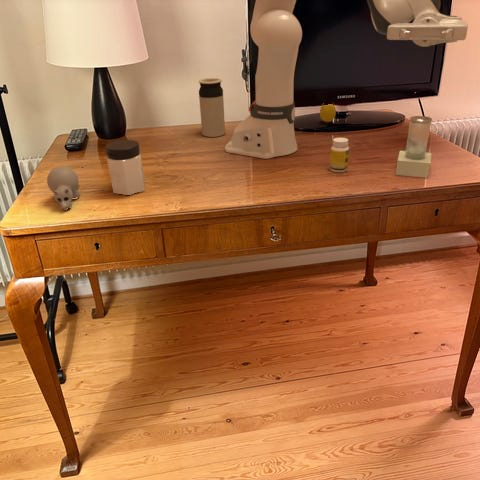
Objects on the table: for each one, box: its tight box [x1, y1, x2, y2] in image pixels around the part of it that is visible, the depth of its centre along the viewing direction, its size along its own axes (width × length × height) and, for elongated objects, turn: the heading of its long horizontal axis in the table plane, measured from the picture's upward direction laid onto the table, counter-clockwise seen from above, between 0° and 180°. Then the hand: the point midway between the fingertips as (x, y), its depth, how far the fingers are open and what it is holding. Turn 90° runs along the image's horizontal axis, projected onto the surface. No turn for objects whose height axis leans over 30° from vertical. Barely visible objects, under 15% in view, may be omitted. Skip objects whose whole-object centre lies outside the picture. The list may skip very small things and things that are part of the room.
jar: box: [105, 139, 146, 196], centre depth 117 cm, size 9×8×12 cm
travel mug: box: [198, 77, 226, 138], centre depth 155 cm, size 8×8×18 cm
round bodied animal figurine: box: [46, 165, 81, 210], centre depth 112 cm, size 7×12×8 cm, turn 12°
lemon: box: [319, 103, 337, 123], centre depth 164 cm, size 6×6×8 cm
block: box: [395, 150, 432, 179], centre depth 122 cm, size 8×8×4 cm
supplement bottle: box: [329, 137, 350, 173], centre depth 124 cm, size 5×5×8 cm
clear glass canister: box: [405, 115, 433, 160], centre depth 119 cm, size 5×5×10 cm
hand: (425, 34), depth 119 cm, fingers open, 8 cm apart
